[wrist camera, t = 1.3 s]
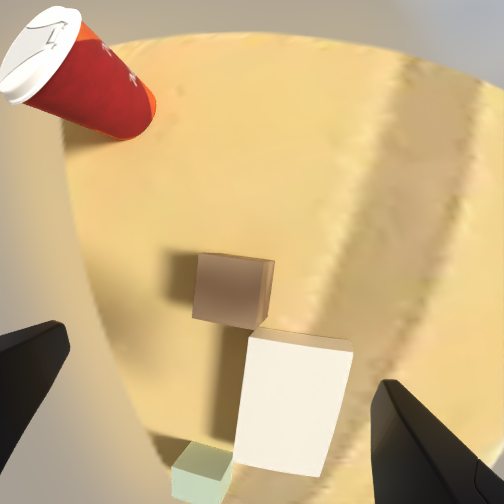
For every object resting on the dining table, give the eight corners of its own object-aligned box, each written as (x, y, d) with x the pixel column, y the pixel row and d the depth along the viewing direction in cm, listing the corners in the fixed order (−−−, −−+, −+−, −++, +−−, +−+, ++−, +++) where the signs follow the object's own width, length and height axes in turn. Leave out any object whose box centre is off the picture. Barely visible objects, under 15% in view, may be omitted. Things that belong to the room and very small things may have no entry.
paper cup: (175, 76, 25) (87, -14, 12) (155, 152, 25) (36, 87, 12) (112, 83, 27) (20, 19, 13) (91, 151, 27) (-20, 107, 13)
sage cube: (231, 482, 24) (217, 511, 20) (190, 470, 25) (171, 496, 20) (235, 452, 24) (220, 481, 19) (191, 440, 25) (171, 466, 20)
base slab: (320, 456, 22) (319, 477, 19) (241, 442, 24) (231, 461, 21) (350, 340, 22) (353, 352, 19) (257, 326, 23) (248, 336, 20)
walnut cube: (267, 316, 23) (255, 330, 19) (214, 306, 24) (191, 317, 20) (275, 260, 23) (264, 262, 19) (220, 253, 24) (198, 253, 20)
